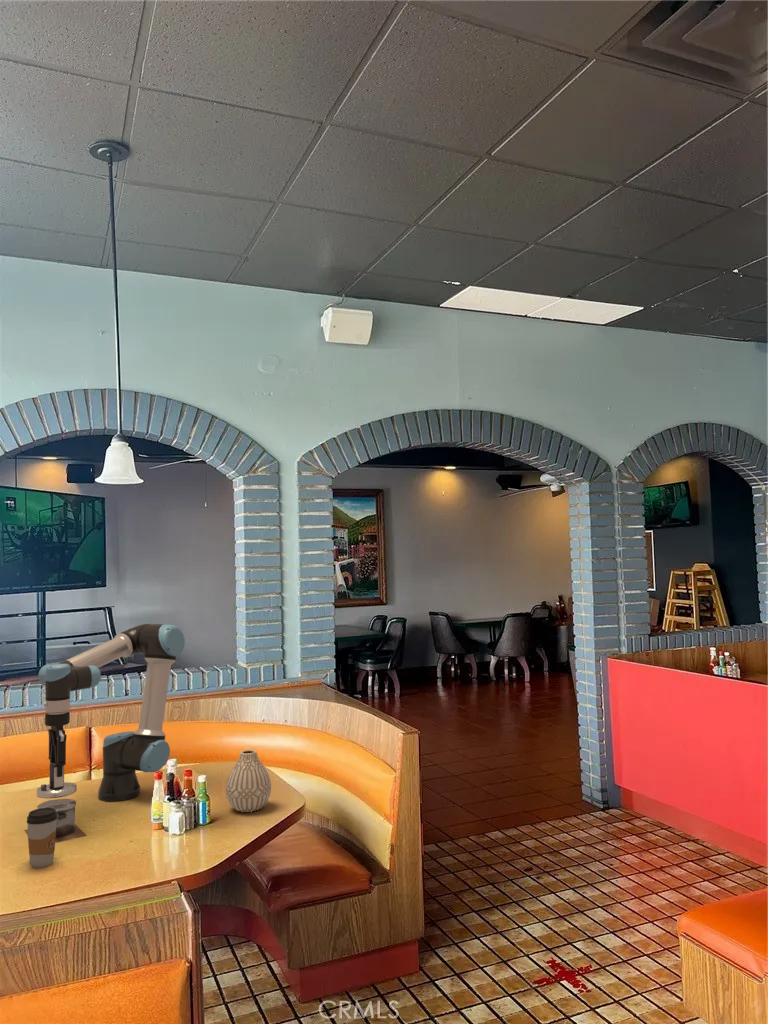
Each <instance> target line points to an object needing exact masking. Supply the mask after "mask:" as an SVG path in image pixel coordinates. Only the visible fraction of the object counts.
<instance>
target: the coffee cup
mask: <svg viewBox="0 0 768 1024" xmlns="http://www.w3.org/2000/svg"><path fill="white" fill-rule="evenodd" d="M56 820H57V813H56V810H55V809H54V808H40V809H33V810H31V811H29V812H28V816H27V817H26V824H27V829H28V835H27V840H28V841H27V843H28V854H29V864H30V866H31V867H32V868H33V869H34V868H36V869H37V868H39V869H40V868H45V867H48V866H50V865H52V864H53V863H54V862H53V861H54V858H55V849H56V843H55V839H56Z"/></svg>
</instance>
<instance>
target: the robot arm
mask: <svg viewBox="0 0 768 1024" xmlns="http://www.w3.org/2000/svg"><path fill="white" fill-rule="evenodd" d="M185 642H186V641H185V636H184V633H183V631H182V630H181V628H180V627H178V626H177V625H174V624H168V623H167V624H166V623H164V624H163V623H161V624H160V623H159V624H158V623H153V624H152V623H142V624H139V625H136V626H133V627H130V628H128V629H126V630H124V631H121V632H119V633H117V634H116V635H114V637H113V639H110V640H108V641H105V642H103V643H101V644H98V645H97V646H95V647H92V648H90V649H88V650H85V651H84V652H81V653H79V654H77V655H75V656H72V657H69V658H67V659H66V660H63V661H60V662H58V663H55V664H53V663H50V664H45V665H43V666H42V667H41V668H40V669H39V672H38V675H37V676H38V681H39V683H40V684H41V685H42V686H44V688H45V689H44V697H45V699H44V700H45V703H43V704H42V705H43V707H45V708H44V710H45V711H44V712H45V714H44V725H45V726H46V727H50V728H48V729H47V732H48V760H49V764H50V763H51V762H55V765H54V766H53V768H54V788H56V787H61V786H64V782H65V766H66V764H67V763H66V760H67V759H66V757H67V755H66V753H67V734H66V730H65V729H64V726H66V725H69V724H70V721H71V720H70V719H71V713H70V712H69V711H70V710H71V692H75V691H80V690H85V689H89V690H90V688H94V687H97V686H99V683H100V681H101V676H102V675H101V670H100V669H99V668H101V667H103V666H105V665H108V664H109V663H112V662H113V661H115V660H118V659H120V658H128V657H130V656H133V655H144V660H145V662H146V663H147V667H146V673H145V681H144V688H143V694H142V701H141V709H140V714H139V722H138V728H137V729H136V730H135V731H134V730H131V731H128V730H127V731H122V732H116V733H112V734H109V735H106V736H105V737H104V739H103V744H102V745H103V746H102V771H103V773H102V779H101V782H100V785H99V788H98V792H97V795H98V796H97V798H98V799H99V801H100V800H101V801H103V802H119V801H120V802H121V801H126V800H129V799H134V798H136V797H138V796H140V795H141V785H140V783H139V779H138V776H137V771H140V772H143V773H157V772H158V771H161V769H163V768H164V767H165V766H166V764H167V763H168V761H169V758H170V753H171V747H170V744H169V743H168V741H166V733H165V732H164V731H163V725H164V718H165V711H166V704H167V696H168V689H169V682H170V681H169V680H170V676H171V675H170V674H171V669H172V665H173V664H174V663H175V662H176V660H177V657H178V656H179V655H180V654H182V652H183V651H184V649H185V645H186V644H185ZM156 771H157V772H156Z"/></svg>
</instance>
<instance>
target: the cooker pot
mask: <svg viewBox="0 0 768 1024" xmlns="http://www.w3.org/2000/svg"><path fill="white" fill-rule="evenodd" d="M76 805H77V800H75V799H72V798H54V799H49V800H46V801H43V802H41V803H39V804H38V805H37V809H40V808H54V809H55V810H56V813H57V820H56V838H60V837H64V836H67V835H70V834H72V833H73V832H74V831H75V824H76Z"/></svg>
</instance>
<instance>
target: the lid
mask: <svg viewBox="0 0 768 1024" xmlns="http://www.w3.org/2000/svg"><path fill="white" fill-rule="evenodd" d="M54 765H55V762H51V763H50V762H49V782H48V783H49V784H45V783H44V784H43V783H42V784H41V785H40V786H39V787H37V789H36V797H38V798H40V799H60V798H63V797H68V796H70V795H73V794H75V793H76V792H77V789H78V788H77V784H76V783H74V782H67V781H66V782H65V781H64V786H61V787H56V788H54V768H53V766H54Z"/></svg>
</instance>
